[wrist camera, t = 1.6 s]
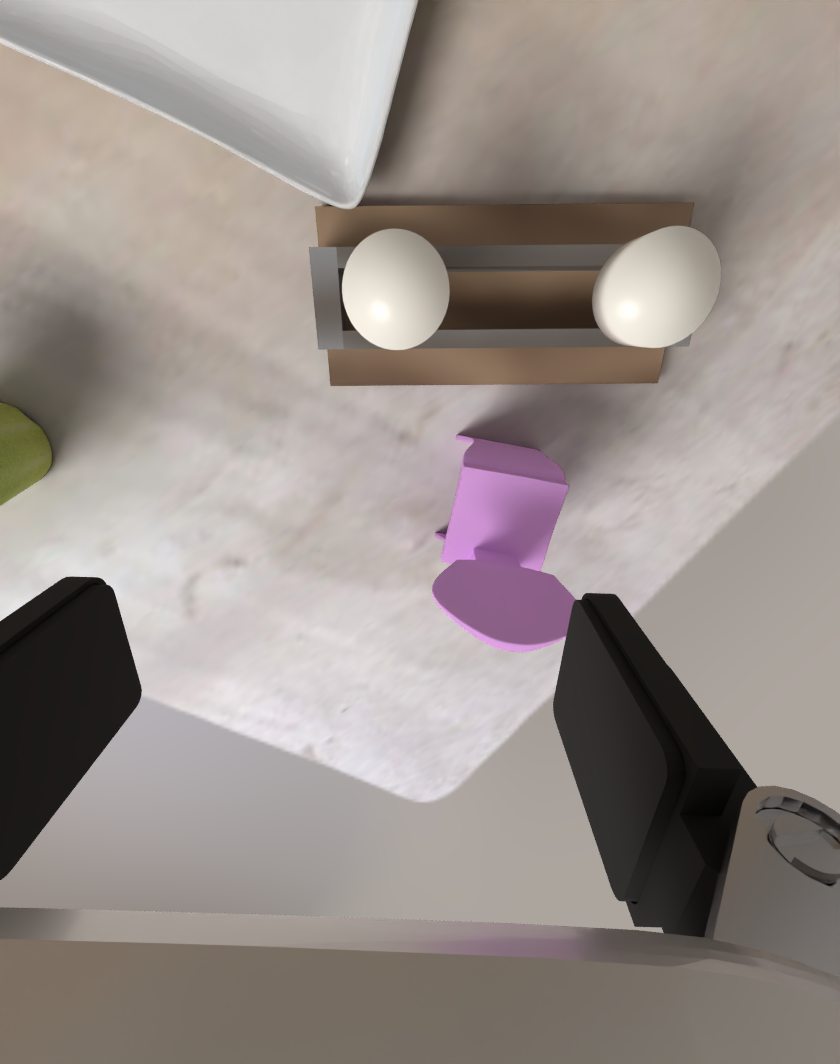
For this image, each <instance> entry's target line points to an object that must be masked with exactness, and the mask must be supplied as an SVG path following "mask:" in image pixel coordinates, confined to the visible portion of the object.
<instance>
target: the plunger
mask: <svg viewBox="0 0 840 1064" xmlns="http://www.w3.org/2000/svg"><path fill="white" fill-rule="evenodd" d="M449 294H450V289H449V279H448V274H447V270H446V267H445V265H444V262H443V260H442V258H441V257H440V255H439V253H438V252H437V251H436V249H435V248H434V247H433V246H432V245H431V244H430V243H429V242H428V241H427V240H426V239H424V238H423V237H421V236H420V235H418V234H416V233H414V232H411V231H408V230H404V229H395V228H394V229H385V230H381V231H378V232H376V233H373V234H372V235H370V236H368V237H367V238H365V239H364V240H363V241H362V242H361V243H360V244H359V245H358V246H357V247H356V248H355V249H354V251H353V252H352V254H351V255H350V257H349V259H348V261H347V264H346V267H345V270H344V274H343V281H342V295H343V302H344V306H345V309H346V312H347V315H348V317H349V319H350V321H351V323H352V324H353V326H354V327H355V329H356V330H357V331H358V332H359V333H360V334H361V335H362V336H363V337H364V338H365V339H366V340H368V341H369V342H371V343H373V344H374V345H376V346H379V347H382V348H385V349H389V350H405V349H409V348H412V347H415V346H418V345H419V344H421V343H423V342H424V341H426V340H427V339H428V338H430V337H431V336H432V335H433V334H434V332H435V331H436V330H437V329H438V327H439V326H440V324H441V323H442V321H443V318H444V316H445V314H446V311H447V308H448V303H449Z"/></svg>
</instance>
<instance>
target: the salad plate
mask: <svg viewBox="0 0 840 1064" xmlns="http://www.w3.org/2000/svg"><path fill="white" fill-rule="evenodd" d="M418 1H419V0H0V44H2V45H4V46H7V47H9V48H11V49H13V50H16V51H18V52H20V53H22V54H25V55H27V56H29V57H31V58H34V59H36V60H38V61H41V62H43V63H45V64H48V65H50V66H52V67H54V68H56V69H59V70H61V71H63V72H66V73H69V74H71V75H73V76H75V77H77V78H80V79H82V80H84V81H86V82H89V83H91V84H93V85H95V86H97V87H100V88H102V89H104V90H106V91H108V92H111V93H113V94H115V95H117V96H119V97H121V98H123V99H125V100H128V101H130V102H132V103H134V104H136V105H138V106H141V107H143V108H145V109H147V110H149V111H151V112H153V113H155V114H157V115H160V116H162V117H164V118H166V119H168V120H170V121H172V122H174V123H176V124H178V125H180V126H182V127H184V128H186V129H188V130H190V131H191V132H193V133H195V134H197V135H199V136H201V137H203V138H205V139H207V140H209V141H211V142H213V143H215V144H217V145H219V146H221V147H223V148H224V149H226V150H228V151H230V152H232V153H234V154H235V155H237V156H239V157H241V158H243V159H245V160H246V161H248V162H250V163H252V164H254V165H255V166H257V167H259V168H261V169H263V170H264V171H266V172H268V173H270V174H271V175H273V176H275V177H277V178H278V179H280V180H282V181H284V182H285V183H287V184H289V185H291V186H293V187H295V188H297V189H299V190H301V191H303V192H305V193H307V194H309V195H311V196H313V197H315V198H317V199H319V200H321V201H323V202H326V203H328V204H330V205H333V206H335V207H338V208H342V209H353V208H355V207H356V206H357V205H358V204H359V203H360V201H361V200H362V199H363V197H364V194H365V192H366V190H367V188H368V185H369V182H370V179H371V176H372V172H373V169H374V166H375V163H376V160H377V156H378V153H379V149H380V146H381V142H382V139H383V135H384V130H385V126H386V122H387V119H388V115H389V111H390V108H391V103H392V99H393V95H394V91H395V87H396V83H397V79H398V76H399V72H400V68H401V64H402V60H403V56H404V53H405V49H406V45H407V41H408V38H409V34H410V30H411V27H412V23H413V19H414V16H415V12H416V8H417V5H418Z"/></svg>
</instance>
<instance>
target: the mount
mask: <svg viewBox="0 0 840 1064" xmlns="http://www.w3.org/2000/svg"><path fill="white" fill-rule="evenodd" d="M693 206H694V203H618V204H518V205H418V206H356V207H355V208H353V209H342V208H338V207H335V206H319V207H315V210H316V222H317V233H318V245H319V247H309V253H310V264H311V275H312V286H313V296H314V307H315V318H316V328H317V339H318V349H328V361H329V373H330V384H331V386H369V385H493V384H616V383H658V380H659V375H660V370H661V365H662V360H663V355H664V350H665V347H661V348H647V347H636V346H626V345H621V344H618V343H616V342H614V341H612V340H610V339H609V338H608V337H606V336H605V335H604V334H603V332H602V331H601V330H600V328H599V327H598V325H597V323H596V321H595V317H594V314H593V308H592V296H593V289H594V285H595V282H596V279H597V277H598V274H599V272H600V270H601V269H602V267H603V265H604V264H605V262H606V261H607V260H608V258H609V257H610V256H611V255H612V254H613V253H614V252H615V251H616V250H617V249H618V248H620V247H621V246H623V245H624V244H626V243H628V242H630V241H632V240H634V239H636V238H639V237H641V236H644V235H646V234H649V233H651V232H654V231H656V230H659V229H661V228H665V227H669V226H686V227H689V226H690V221H691V216H692V211H693ZM394 228H395V229H404V230H408V231H411V232H414V233H416V234H418V235H420V236H421V237H423V238H424V239H426V240H427V241H428V242H429V243H430V244H431V245H432V246H433V247H434V248H435V249H436V251H437V252H438V253H439V255H440V257H441V258H442V260H443V262H444V265H445V267H446V270H447V274H448V279H449V289H450V294H449V303H448V308H447V311H446V314H445V316H444V318H443V321H442V323H441V324H440V326H439V327H438V329H437V330H436V331H435V332H434V334H433V335H432V336H431V337H430V338H428V339H427V340H426V341H424V342H423V343H421V344H419V345H418V346H415V347H412V348H409V349H405V350H389V349H385V348H382V347H379V346H376V345H374V344H373V343H371V342H369V341H368V340H366V339H365V338H364V337H363V336H362V335H361V334H360V333H359V332H358V331H357V330H356V329H355V327H354V326H353V324H352V323H351V321H350V319H349V317H348V315H347V312H346V309H345V306H344V302H343V295H342V281H343V274H344V270H345V267H346V264H347V261H348V259H349V257H350V255H351V254H352V252H353V251H354V249H355V248H356V247H357V246H358V245H359V244H360V243H361V242H362V241H363V240H364V239H365V238H367V237H368V236H370V235H372V234H373V233H376V232H378V231H381V230H385V229H394ZM691 335H692V333H691V334H690V335H689V336H688V337H686V338H684V339H683V340H681V341H679V342H677V343H675V344H672V345H669V346H689V344H690V339H691Z"/></svg>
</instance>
